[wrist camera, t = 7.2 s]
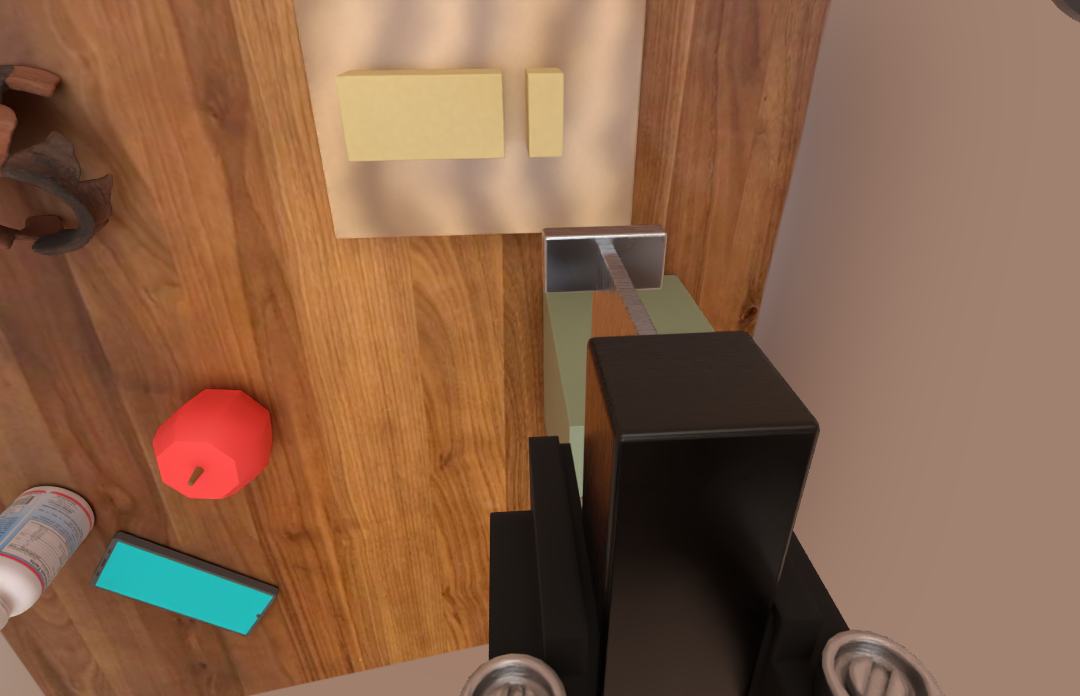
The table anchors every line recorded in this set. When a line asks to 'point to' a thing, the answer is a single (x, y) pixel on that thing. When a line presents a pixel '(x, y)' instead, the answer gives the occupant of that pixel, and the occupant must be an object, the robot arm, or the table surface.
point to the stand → (568, 352)
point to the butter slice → (544, 111)
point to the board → (512, 45)
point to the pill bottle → (38, 543)
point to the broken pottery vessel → (49, 174)
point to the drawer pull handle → (677, 476)
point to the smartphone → (182, 584)
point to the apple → (214, 444)
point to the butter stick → (422, 114)
